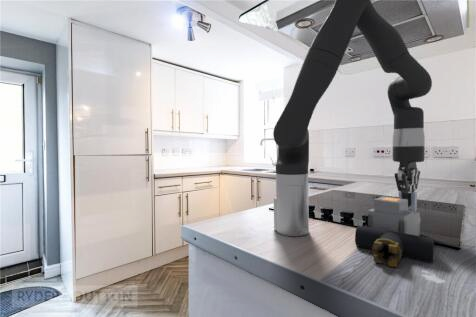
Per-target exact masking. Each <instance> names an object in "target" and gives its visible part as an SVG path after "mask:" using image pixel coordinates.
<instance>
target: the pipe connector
mask: <svg viewBox="0 0 476 317" xmlns="http://www.w3.org/2000/svg"><path fill="white" fill-rule="evenodd" d="M354 234H355V235H354V241H355V242H354V243H355V246H356V247H359V248H360V247H361V248H365V249H370V250H372V255H373V262H374V263H379V264H387V265H388V266H391V267H394V268H396V267H397V266H398V264H399V262H400V261H401V259H402V257H406V258H410V259H415V260H419V261H424V262H430V263H434V257H435V256H434V255H435V254H434V252H435V251H434V250H435V249H434V248H435V239H434V238H433V237H427V236H416V235H410V234H404V233H398V232H393V231H387V230H381V229H375V228H369V227H368V226H363V225H357V227H356V229H355V232H354Z"/></svg>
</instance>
